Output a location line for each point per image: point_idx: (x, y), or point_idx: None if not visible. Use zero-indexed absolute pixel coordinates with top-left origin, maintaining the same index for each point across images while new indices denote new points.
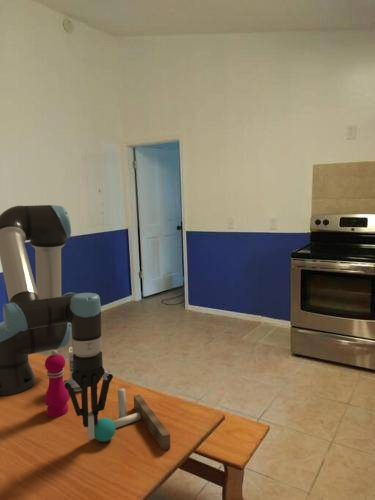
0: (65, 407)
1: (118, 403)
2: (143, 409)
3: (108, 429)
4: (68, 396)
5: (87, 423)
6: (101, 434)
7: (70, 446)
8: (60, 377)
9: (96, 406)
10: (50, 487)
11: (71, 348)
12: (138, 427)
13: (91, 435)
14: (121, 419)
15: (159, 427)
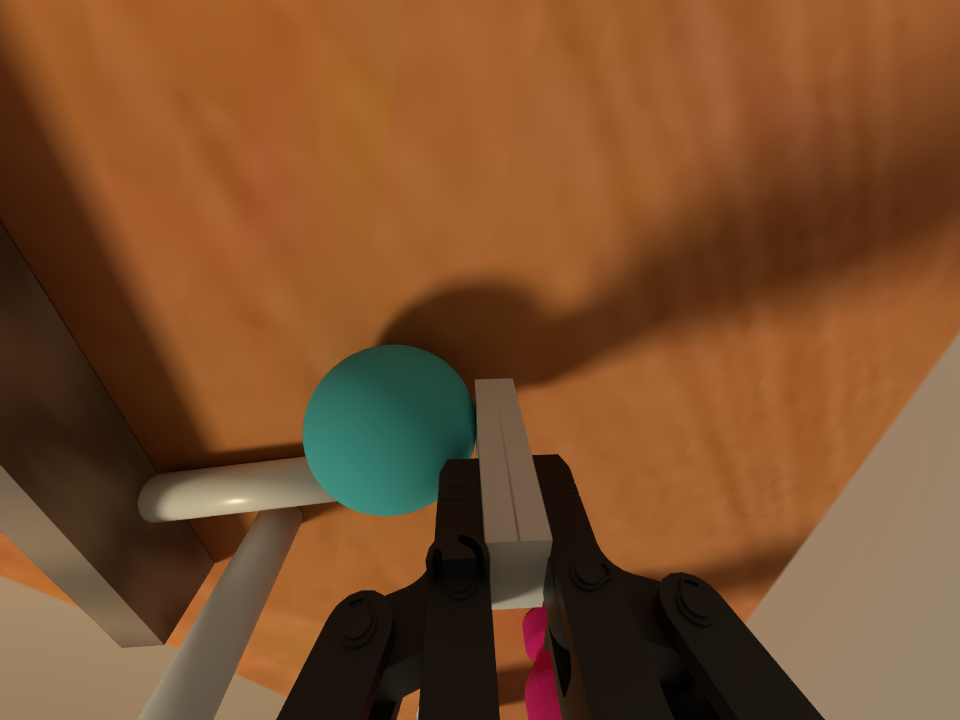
0: (542, 635)
1: (256, 616)
2: (57, 525)
3: (358, 386)
4: (534, 702)
5: (538, 479)
6: (426, 368)
7: (599, 398)
8: None
9: (440, 684)
10: (897, 12)
11: None
12: (178, 415)
13: (498, 394)
14: (270, 494)
15: None
